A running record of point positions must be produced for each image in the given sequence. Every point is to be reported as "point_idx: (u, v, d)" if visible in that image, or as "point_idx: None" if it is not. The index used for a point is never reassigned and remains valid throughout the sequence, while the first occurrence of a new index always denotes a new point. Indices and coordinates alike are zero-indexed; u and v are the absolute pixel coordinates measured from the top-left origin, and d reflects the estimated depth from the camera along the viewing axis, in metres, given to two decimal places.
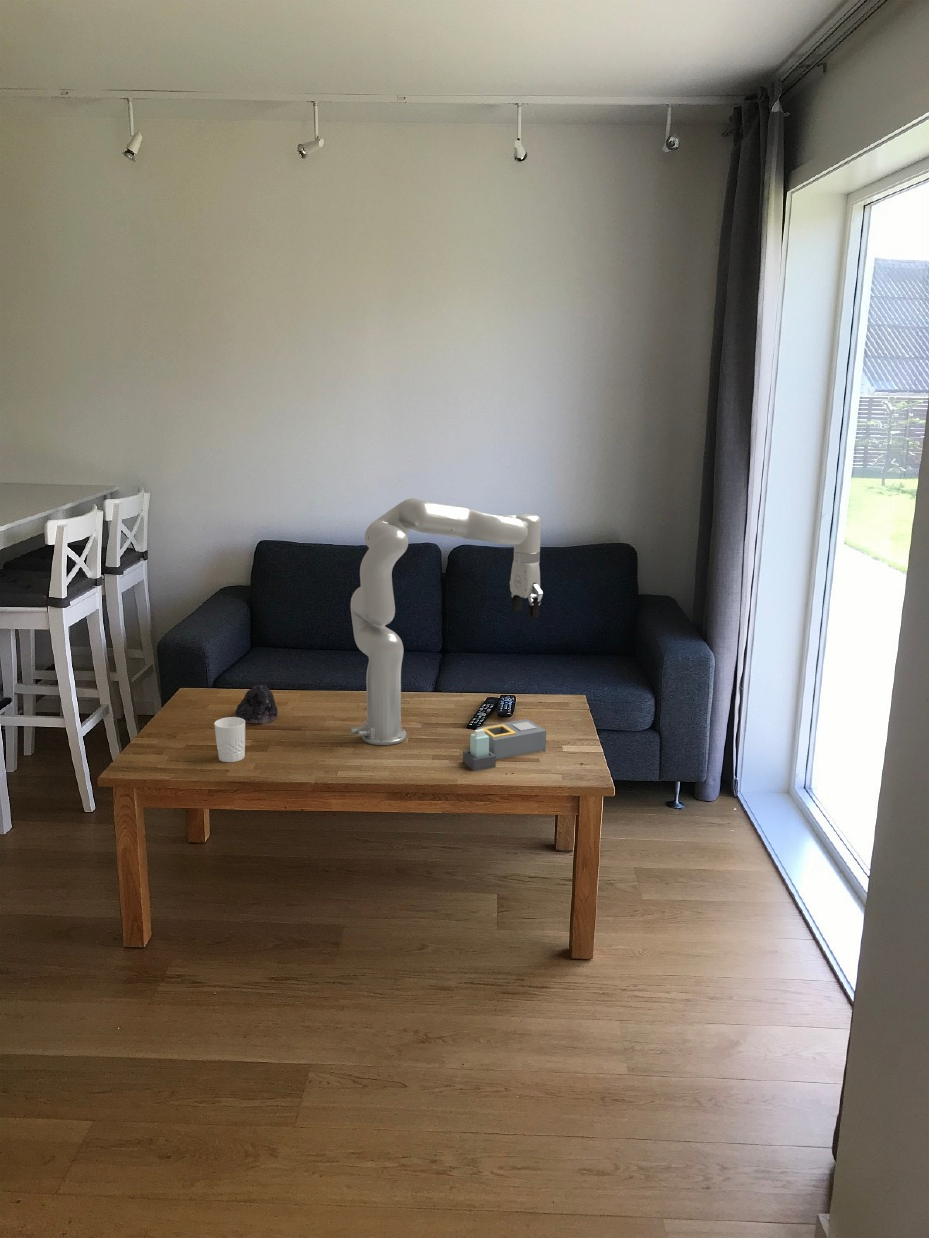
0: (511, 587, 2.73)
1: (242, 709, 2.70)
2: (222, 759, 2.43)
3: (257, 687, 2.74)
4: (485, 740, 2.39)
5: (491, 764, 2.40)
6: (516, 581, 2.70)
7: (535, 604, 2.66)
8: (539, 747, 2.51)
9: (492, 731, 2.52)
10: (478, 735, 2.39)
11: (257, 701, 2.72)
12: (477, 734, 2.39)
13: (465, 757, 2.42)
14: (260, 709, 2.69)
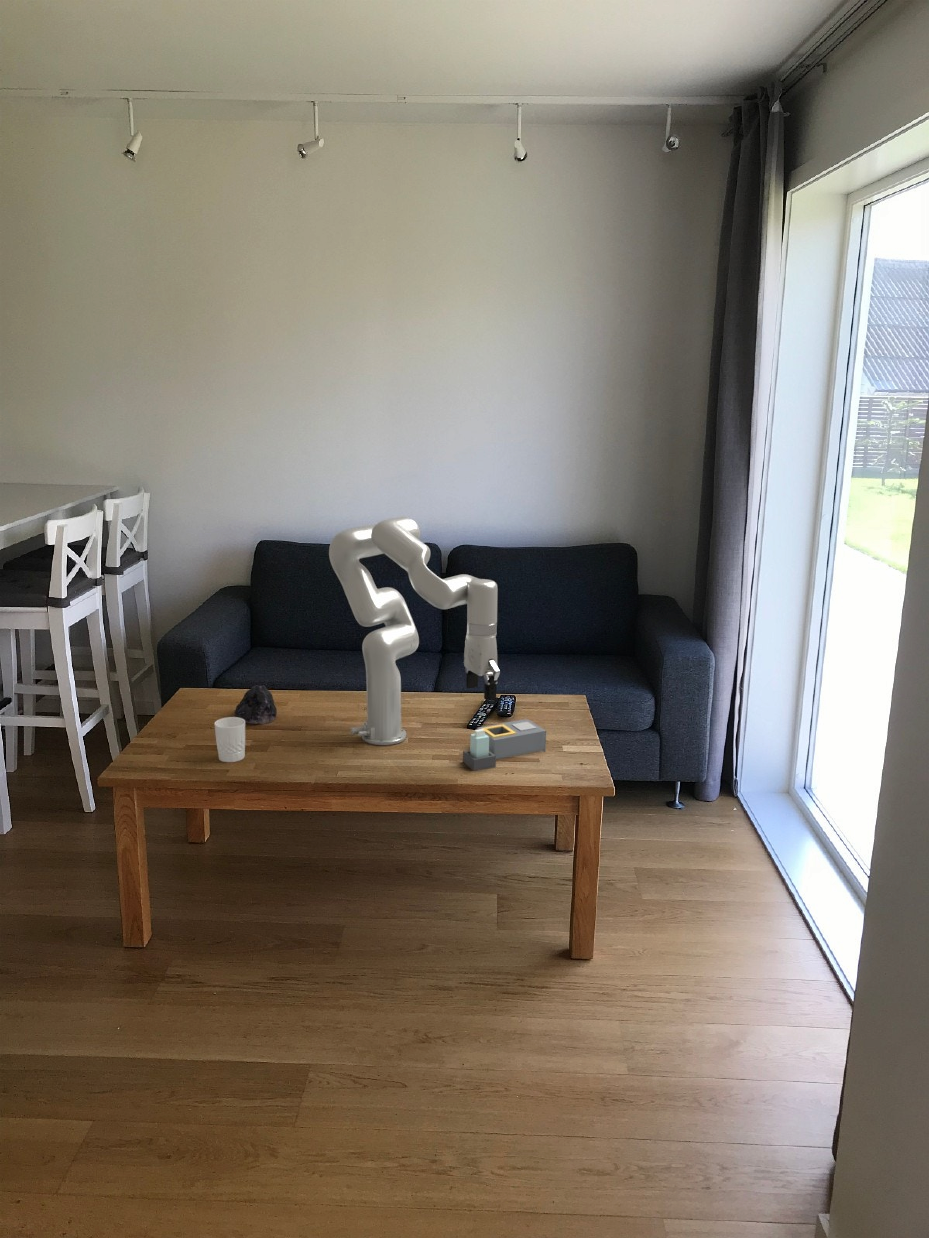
0: (465, 662, 2.37)
1: (241, 709, 2.70)
2: (222, 759, 2.43)
3: (256, 688, 2.74)
4: (485, 740, 2.39)
5: (491, 764, 2.40)
6: (470, 656, 2.34)
7: (491, 683, 2.31)
8: (539, 747, 2.51)
9: (492, 731, 2.52)
10: (478, 735, 2.39)
11: (256, 701, 2.71)
12: (477, 734, 2.39)
13: (465, 757, 2.42)
14: (259, 709, 2.69)
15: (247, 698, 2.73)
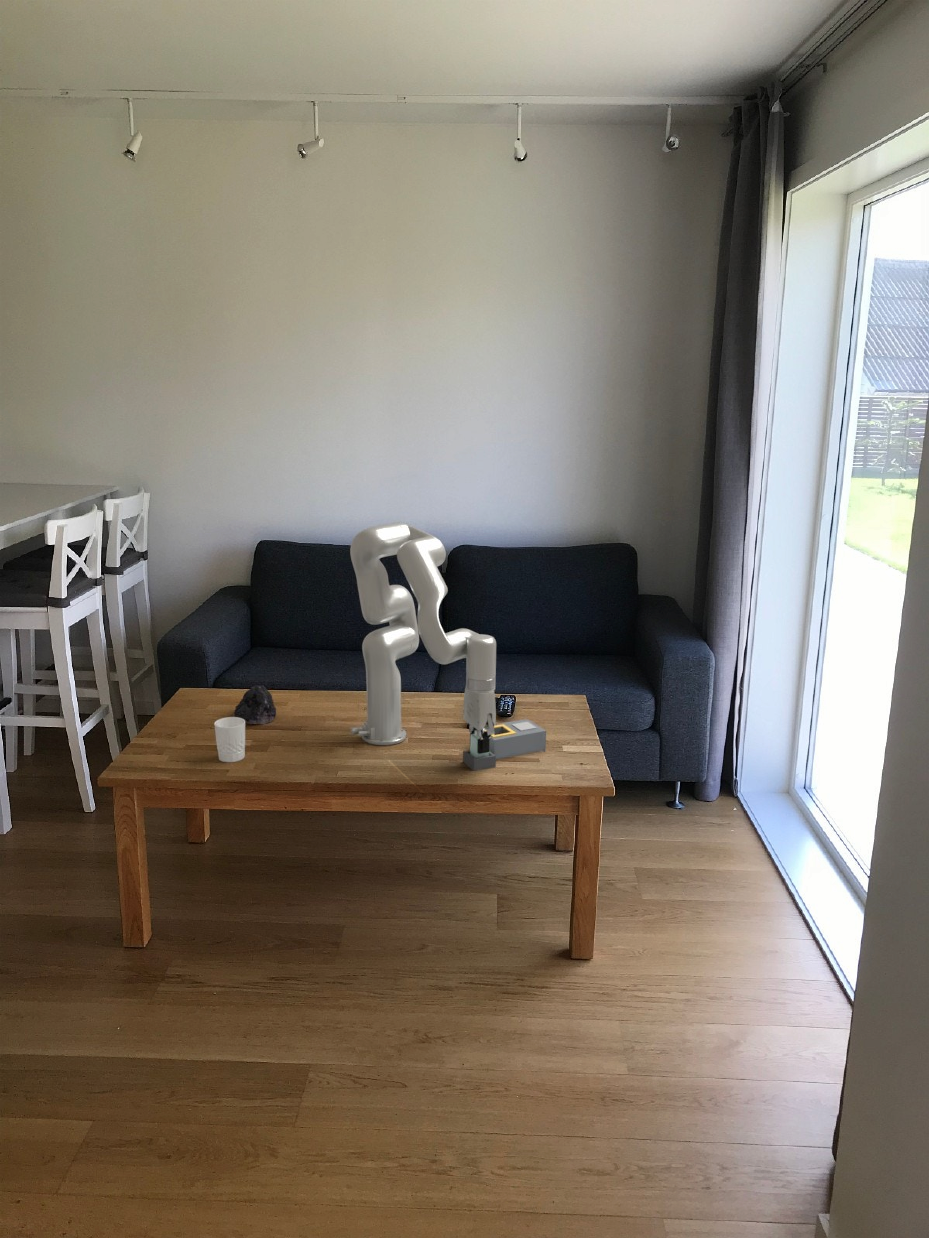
0: (464, 714, 2.41)
1: (241, 710, 2.70)
2: (222, 759, 2.43)
3: (255, 688, 2.74)
4: None
5: (491, 764, 2.40)
6: (469, 709, 2.38)
7: (484, 739, 2.37)
8: (539, 747, 2.51)
9: None
10: (478, 735, 2.39)
11: (256, 702, 2.71)
12: (477, 734, 2.39)
13: (465, 757, 2.42)
14: (259, 710, 2.68)
15: (246, 698, 2.72)
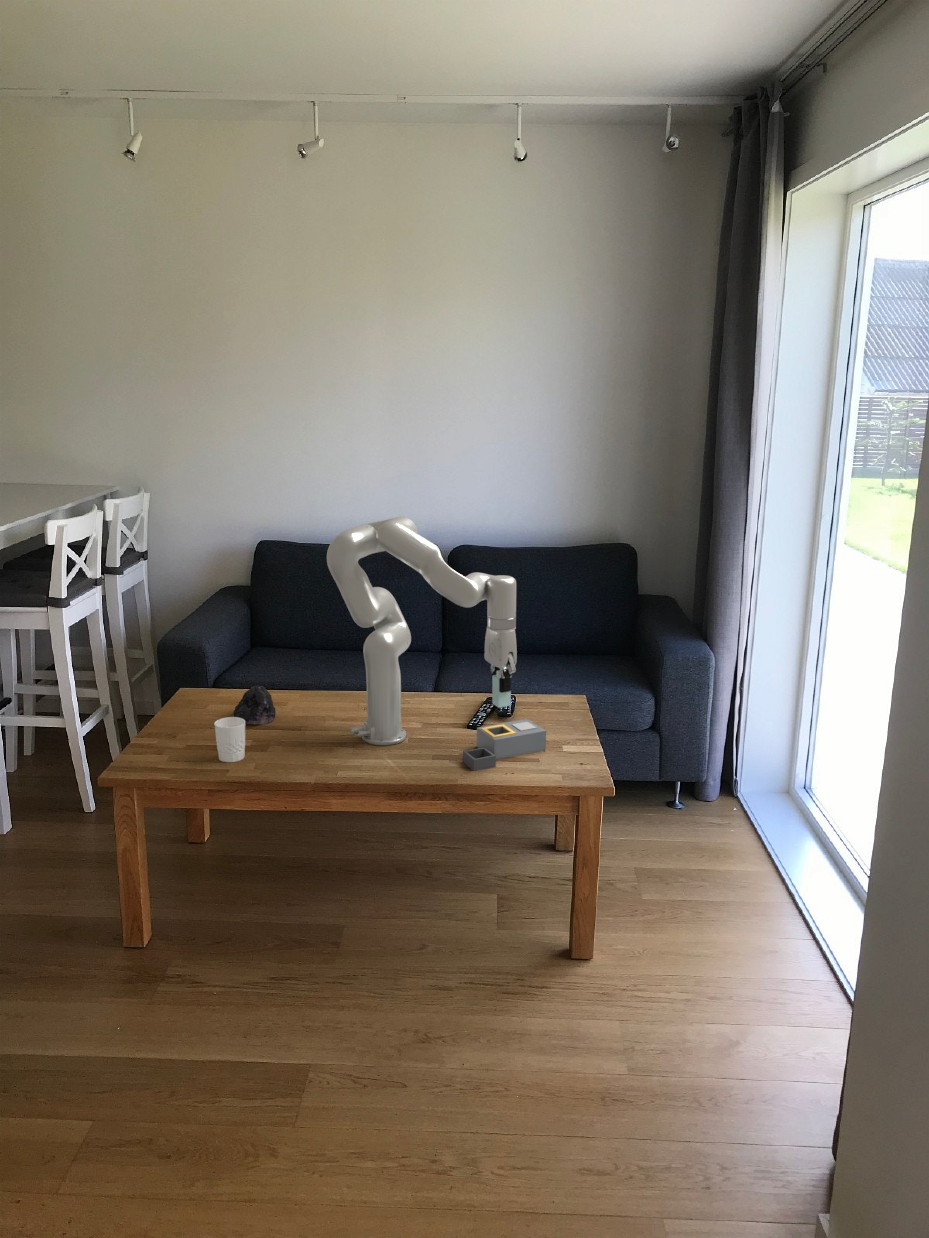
0: (485, 655, 2.47)
1: (240, 710, 2.69)
2: (222, 759, 2.43)
3: (255, 688, 2.74)
4: None
5: (491, 764, 2.40)
6: (490, 649, 2.44)
7: (506, 678, 2.43)
8: (539, 747, 2.51)
9: (492, 731, 2.52)
10: (500, 675, 2.45)
11: (255, 702, 2.71)
12: (499, 674, 2.45)
13: (465, 757, 2.42)
14: (258, 710, 2.68)
15: (246, 699, 2.72)
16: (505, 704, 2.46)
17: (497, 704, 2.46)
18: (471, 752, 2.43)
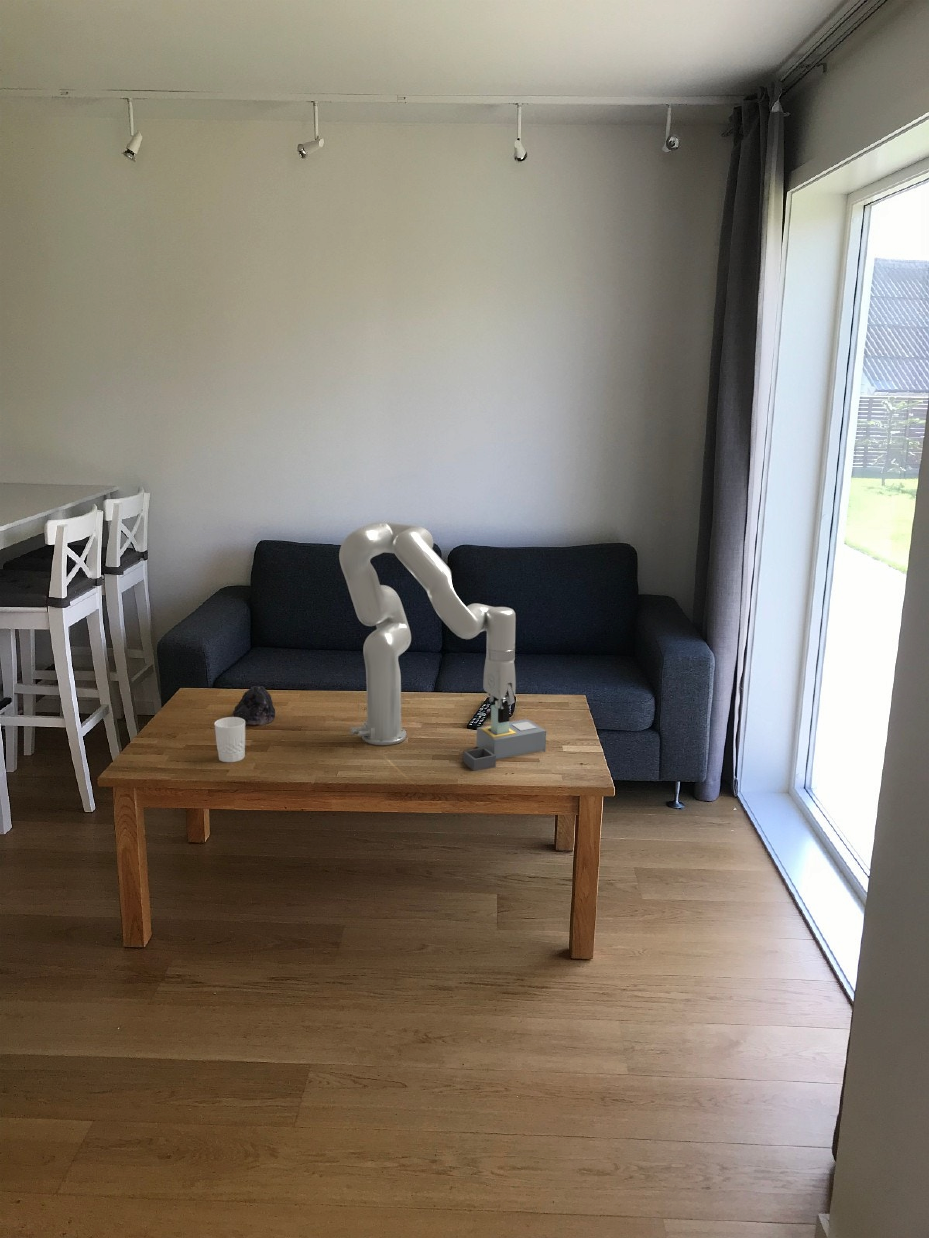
0: (484, 685, 2.49)
1: (240, 710, 2.69)
2: (222, 759, 2.43)
3: (255, 688, 2.73)
4: None
5: (491, 764, 2.40)
6: (489, 680, 2.46)
7: (504, 708, 2.45)
8: (539, 747, 2.51)
9: None
10: (499, 706, 2.47)
11: (255, 702, 2.71)
12: (498, 705, 2.47)
13: (465, 757, 2.42)
14: (258, 710, 2.68)
15: (245, 699, 2.72)
16: None
17: (496, 734, 2.48)
18: (471, 752, 2.43)
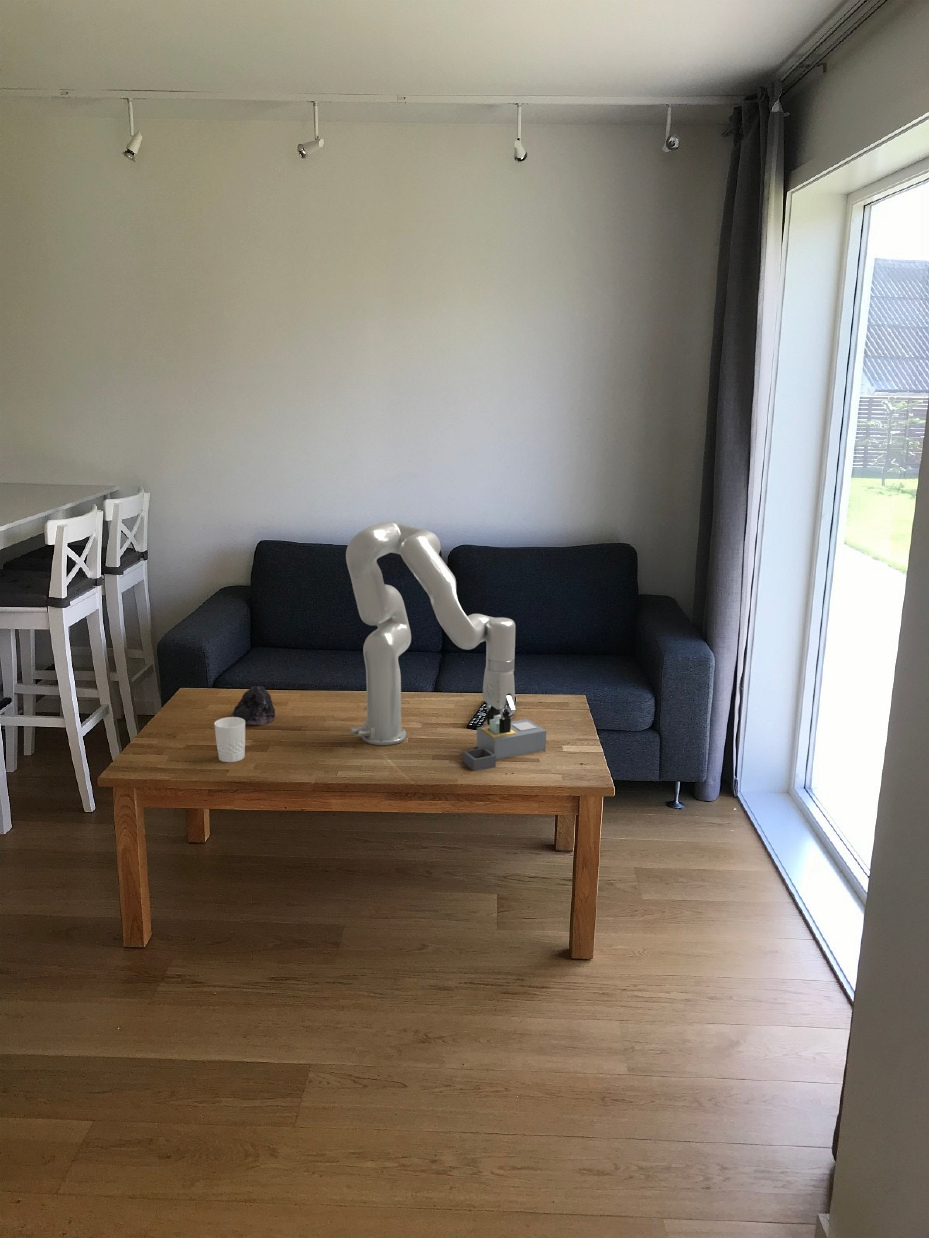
0: (484, 695, 2.50)
1: (239, 710, 2.69)
2: (222, 759, 2.43)
3: (254, 689, 2.73)
4: None
5: (491, 764, 2.40)
6: (489, 690, 2.47)
7: (506, 719, 2.45)
8: (539, 747, 2.51)
9: None
10: (497, 720, 2.49)
11: (254, 702, 2.71)
12: (496, 719, 2.48)
13: (465, 757, 2.42)
14: (258, 710, 2.68)
15: (245, 699, 2.72)
16: None
17: None
18: (471, 752, 2.43)
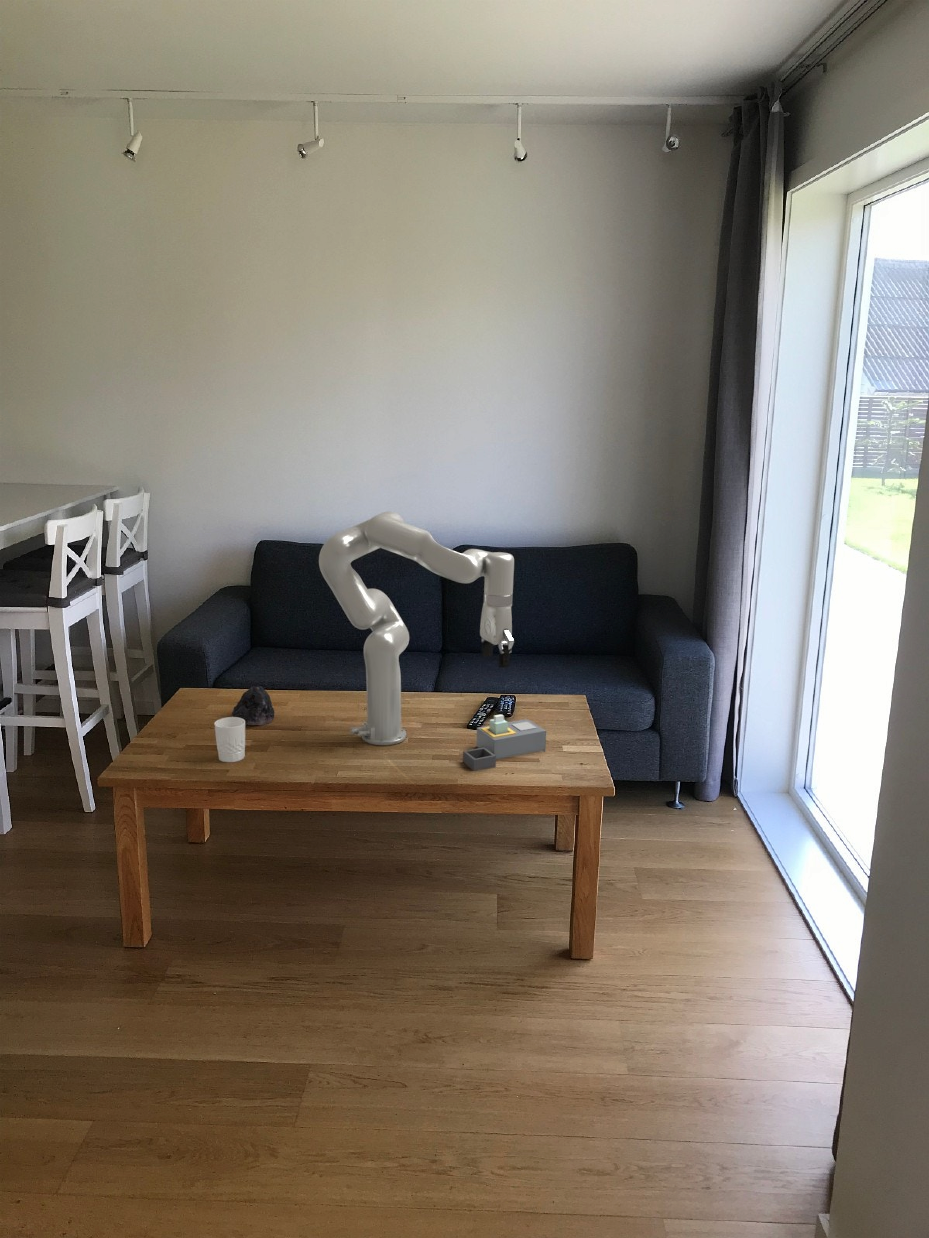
0: (481, 631, 2.48)
1: (239, 711, 2.69)
2: (222, 759, 2.43)
3: (254, 689, 2.73)
4: (504, 725, 2.49)
5: (491, 764, 2.40)
6: (486, 625, 2.45)
7: (505, 652, 2.41)
8: (539, 747, 2.51)
9: None
10: (497, 720, 2.49)
11: (254, 703, 2.70)
12: (496, 719, 2.48)
13: (465, 757, 2.42)
14: (257, 711, 2.67)
15: (244, 699, 2.71)
16: None
17: None
18: (471, 752, 2.43)
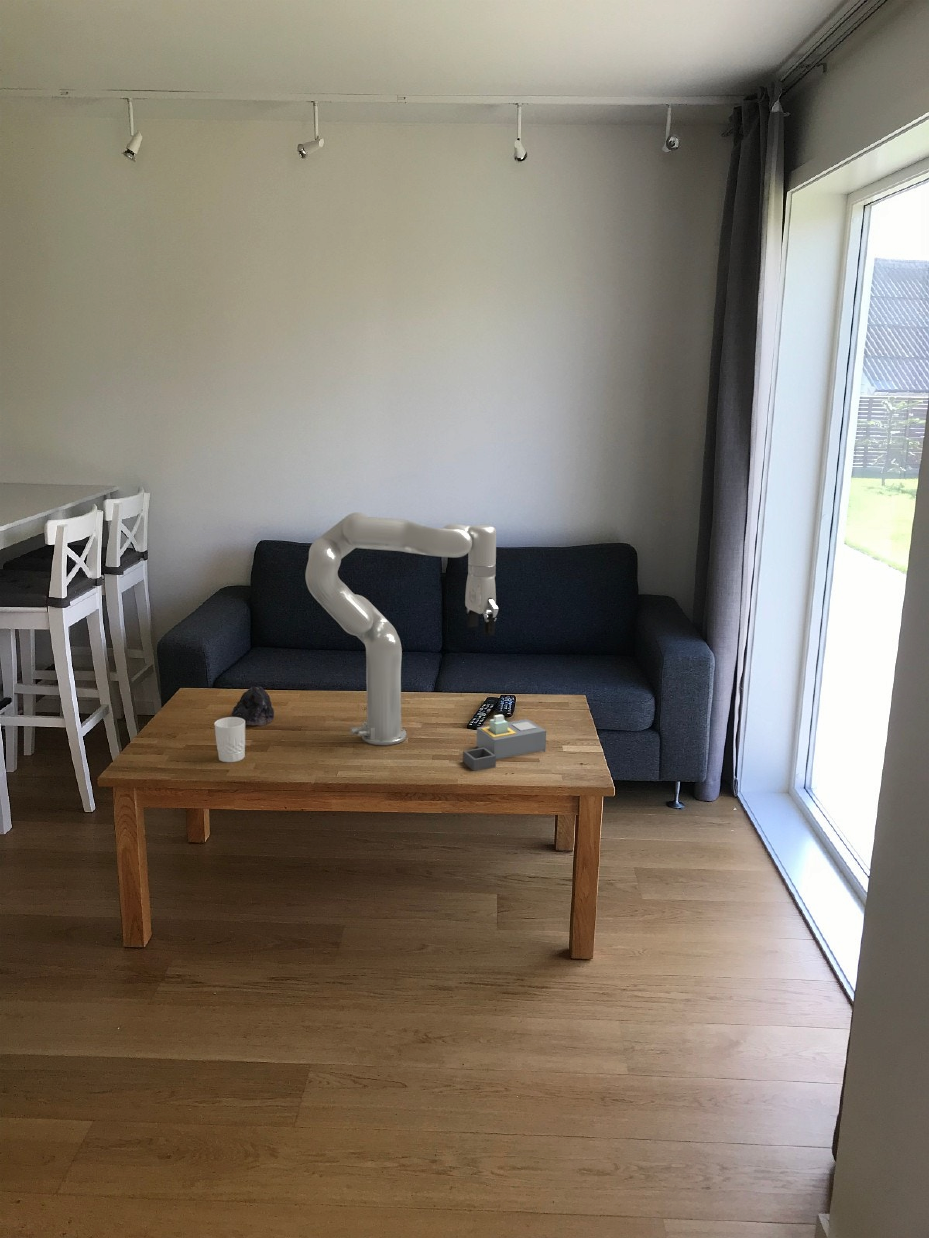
0: (466, 602, 2.58)
1: (238, 711, 2.69)
2: (222, 759, 2.43)
3: (253, 689, 2.73)
4: (504, 725, 2.49)
5: (491, 764, 2.40)
6: (471, 596, 2.55)
7: (490, 620, 2.51)
8: (539, 747, 2.51)
9: None
10: (497, 720, 2.49)
11: (253, 703, 2.70)
12: (496, 719, 2.48)
13: (465, 757, 2.42)
14: (256, 711, 2.67)
15: (244, 700, 2.71)
16: None
17: None
18: (471, 752, 2.43)
